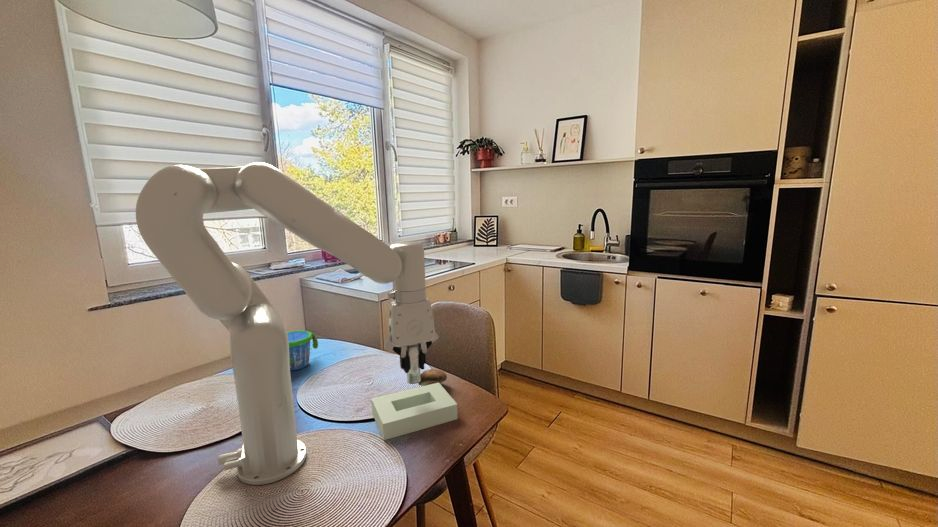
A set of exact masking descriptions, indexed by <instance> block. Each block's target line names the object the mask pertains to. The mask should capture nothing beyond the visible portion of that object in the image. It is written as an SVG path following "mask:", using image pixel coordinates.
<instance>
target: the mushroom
mask: <svg viewBox="0 0 938 527" xmlns="http://www.w3.org/2000/svg"><path fill="white" fill-rule="evenodd" d="M420 377H421V381H420V382H419V383H417V384H418V385H419V386H420V387H422V386H426V385H430V384H434V383H440V384H441V385H442V383H443V382H446V380H447V378H448V376H447V374H446V373H445V372H444V371H443V370H441V369H436V368H435V369H433V368H432V369H426V370H424V371H423V372H420Z"/></svg>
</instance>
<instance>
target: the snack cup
mask: <svg viewBox="0 0 938 527" xmlns="http://www.w3.org/2000/svg"><path fill="white" fill-rule="evenodd" d="M286 332H287V335H288V341H289V363H290V371H298V370H300V369H303V368H305V367H307V366H309V363H310V358H311V357H310V355H311V340H312V348H313V349H318V347H319V341H318V337H317V335H316V334H315V333H312V332H311V331H309V330H301V329H300V330H299V329H298V330H292V331H286Z"/></svg>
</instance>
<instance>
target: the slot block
mask: <svg viewBox="0 0 938 527" xmlns="http://www.w3.org/2000/svg"><path fill="white" fill-rule="evenodd" d="M372 413H373V414H372ZM371 414H372V416H373V418H374V420H375V424H376V425H377V428H378V430H379V432H380V435H381V437H382V439H383V441H386V440H389V439H394V438H397V437H401V436H404V435H408V434H411V433H414V432H418V431H421V430H422V431H423V430H424V429H428V428H432V427H435V426H439V425H441V424H445V423H449V422H452V421H456V420H458V403H457V402H456V401H455V399H453V398H452V396H451V395H450V394H449V393H448V392H447V390H446V389H445V388H444V387H443V386H442V383H441V384H440V383H434V384H430V385H426V386H419V387H415V388H410V389H406V390H401V391H398V392H397V391H396V392H394V393H388V394H385V395H379V396H377V397H372V398H371Z"/></svg>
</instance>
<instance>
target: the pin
mask: <svg viewBox="0 0 938 527" xmlns="http://www.w3.org/2000/svg"><path fill="white" fill-rule="evenodd" d="M406 355H407V357H408V362H409V372H408V373H406V378H407V379H406V380H407V384H410V385H411V384H412V385H417V384H418V383H419V382H420V381H421V377H420V374H421V368H420V355H419V344H415V345H410V346H406Z"/></svg>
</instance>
